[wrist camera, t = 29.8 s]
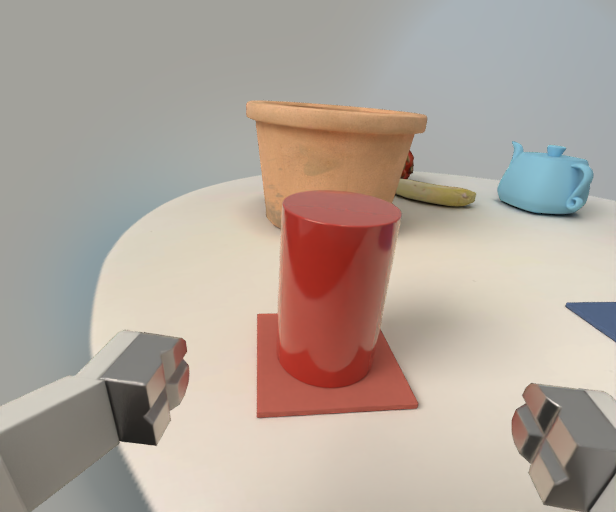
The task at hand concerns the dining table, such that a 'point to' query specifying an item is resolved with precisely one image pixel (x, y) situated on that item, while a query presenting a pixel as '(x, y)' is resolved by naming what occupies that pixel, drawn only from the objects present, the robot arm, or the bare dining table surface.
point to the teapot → (546, 181)
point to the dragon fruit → (408, 166)
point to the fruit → (435, 193)
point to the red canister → (333, 284)
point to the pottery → (330, 149)
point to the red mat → (316, 400)
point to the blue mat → (597, 315)
